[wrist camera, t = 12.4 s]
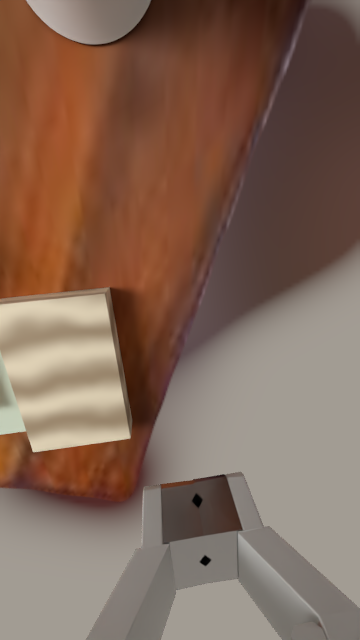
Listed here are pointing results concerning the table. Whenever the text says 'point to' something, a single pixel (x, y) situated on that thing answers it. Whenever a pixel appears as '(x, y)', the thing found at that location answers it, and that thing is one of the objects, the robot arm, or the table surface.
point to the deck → (66, 368)
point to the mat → (8, 405)
